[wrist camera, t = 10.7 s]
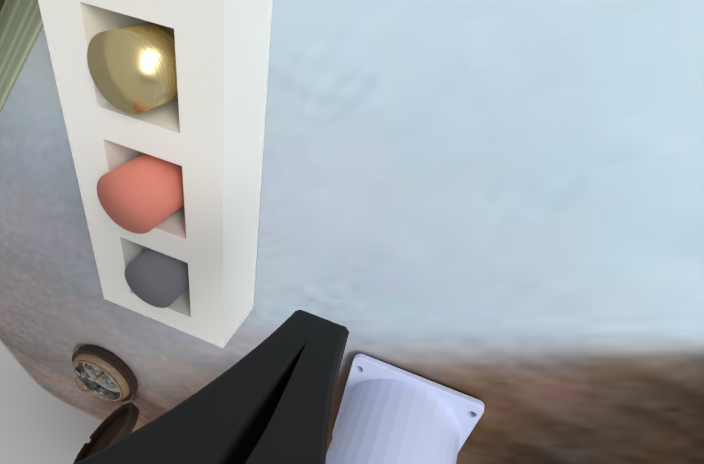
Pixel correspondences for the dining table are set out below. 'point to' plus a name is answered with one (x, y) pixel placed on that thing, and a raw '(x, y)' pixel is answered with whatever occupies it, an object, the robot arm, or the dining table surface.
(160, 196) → the red plug
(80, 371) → the compass
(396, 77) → the dining table surface
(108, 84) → the brass plug
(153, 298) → the gray plug
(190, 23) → the socket board
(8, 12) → the hardcover book
